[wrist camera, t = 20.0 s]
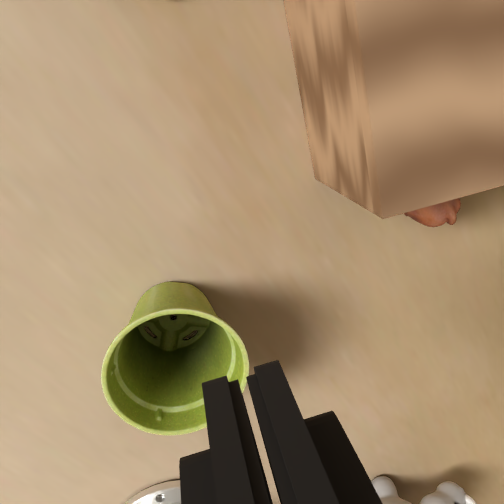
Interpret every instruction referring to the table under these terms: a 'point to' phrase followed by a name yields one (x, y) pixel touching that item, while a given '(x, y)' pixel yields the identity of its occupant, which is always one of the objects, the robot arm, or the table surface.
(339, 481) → the robot arm
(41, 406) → the table surface
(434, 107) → the wood grain box
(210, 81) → the table surface
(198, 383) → the plant pot
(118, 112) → the table surface
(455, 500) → the round bodied animal figurine
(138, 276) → the table surface
